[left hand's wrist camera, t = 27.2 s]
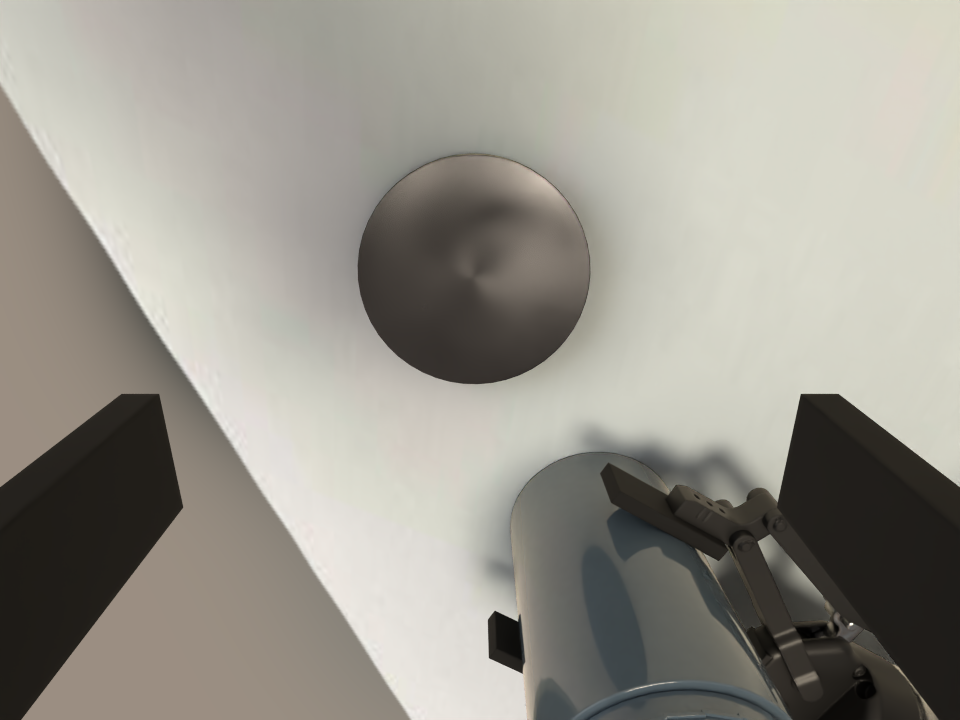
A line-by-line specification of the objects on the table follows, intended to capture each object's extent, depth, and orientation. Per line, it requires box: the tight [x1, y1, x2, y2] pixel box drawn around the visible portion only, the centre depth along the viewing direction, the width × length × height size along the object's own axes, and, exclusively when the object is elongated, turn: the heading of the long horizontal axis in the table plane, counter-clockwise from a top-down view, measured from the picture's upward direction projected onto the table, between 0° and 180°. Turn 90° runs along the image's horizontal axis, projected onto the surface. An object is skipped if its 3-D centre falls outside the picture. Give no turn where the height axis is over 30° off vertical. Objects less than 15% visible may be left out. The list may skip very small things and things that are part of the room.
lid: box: [358, 153, 590, 384], centre depth 32 cm, size 12×12×2 cm
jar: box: [510, 452, 794, 720], centre depth 30 cm, size 10×10×18 cm
